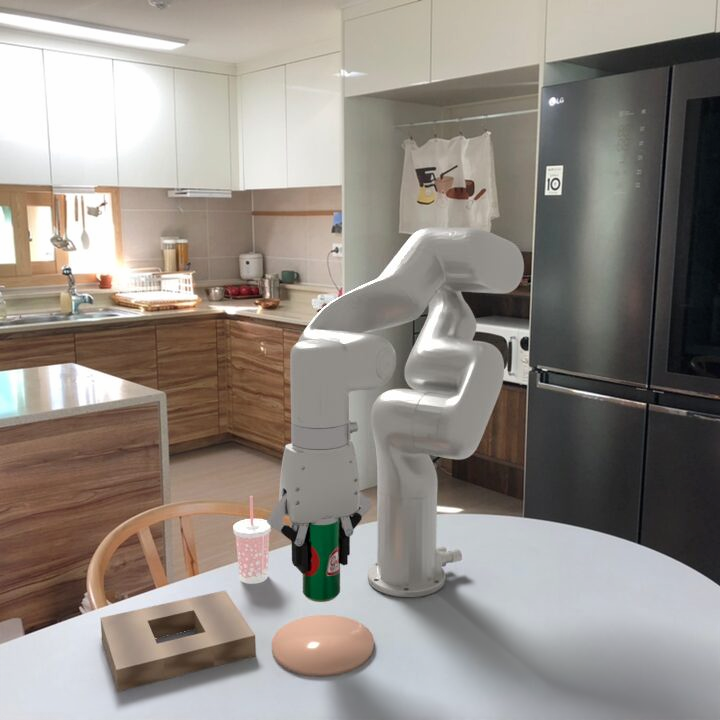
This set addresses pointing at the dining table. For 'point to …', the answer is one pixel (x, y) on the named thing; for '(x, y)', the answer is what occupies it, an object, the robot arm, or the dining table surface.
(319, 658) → the peach domed disc
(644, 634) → the dining table surface
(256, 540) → the beverage cup
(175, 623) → the pocket board
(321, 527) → the soda can
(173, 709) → the dining table surface
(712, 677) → the dining table surface
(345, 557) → the robot arm
